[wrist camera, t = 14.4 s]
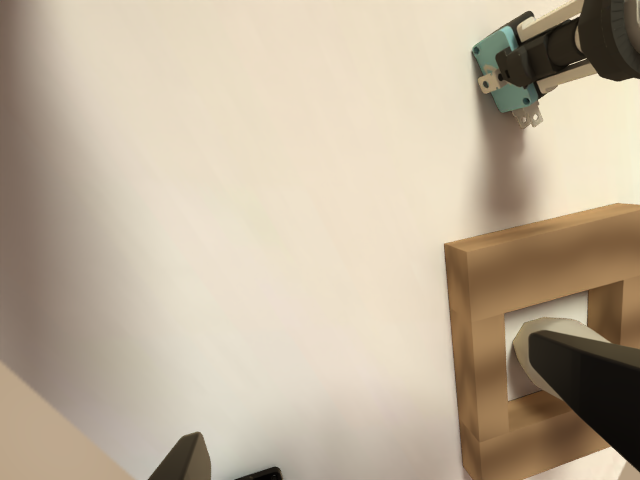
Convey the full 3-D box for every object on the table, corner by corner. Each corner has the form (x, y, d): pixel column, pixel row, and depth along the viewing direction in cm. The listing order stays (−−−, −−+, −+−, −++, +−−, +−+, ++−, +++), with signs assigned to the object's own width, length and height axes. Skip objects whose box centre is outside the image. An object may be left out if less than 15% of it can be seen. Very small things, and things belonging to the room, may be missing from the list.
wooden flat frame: (607, 414, 29) (638, 435, 27) (463, 466, 27) (483, 494, 25) (617, 203, 25) (656, 206, 22) (444, 243, 22) (466, 251, 20)
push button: (548, 106, 22) (777, 52, 12) (488, 150, 22) (673, 129, 12) (512, 12, 20) (747, -138, 10) (446, 58, 20) (624, -53, 10)
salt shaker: (570, 306, 26) (864, 428, 13) (557, 369, 27) (817, 536, 14) (509, 309, 25) (769, 445, 12) (498, 374, 26) (725, 561, 13)
